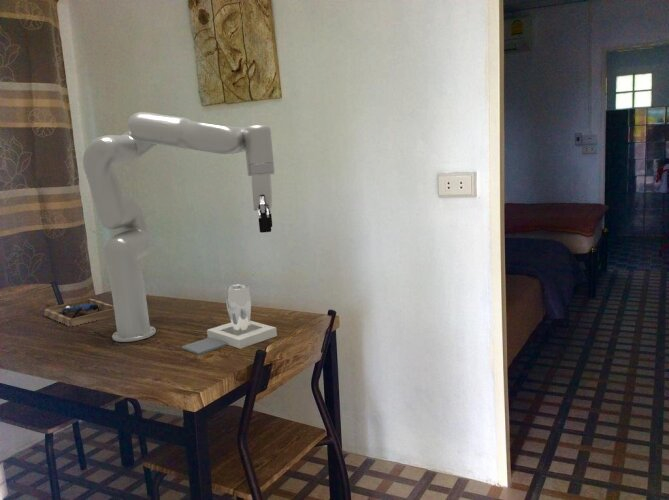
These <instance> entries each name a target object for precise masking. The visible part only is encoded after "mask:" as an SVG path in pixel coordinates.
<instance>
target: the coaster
mask: <svg viewBox="0 0 669 500" xmlns="http://www.w3.org/2000/svg"><path fill="white" fill-rule="evenodd" d="M227 346H228V345H227V343H224V342H221V341H218V340H215V339H212V338H208V337H207V338H204V339H201V340H198V341H195V342H191V343H188V344H185V345H182V346H181V349H182V350H185V351H188V352H191V353H193V354H196V355H199V356H200V355H203V354H206V353H208V352H212V351H215V350H218V349H221V348H224V347H227Z"/></svg>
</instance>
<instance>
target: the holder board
mask: <svg viewBox="0 0 669 500" xmlns="http://www.w3.org/2000/svg"><path fill="white" fill-rule="evenodd" d="M250 327H251V332H248V333H245V334H242V335H239V336H237V335H233V334H232V324H231V322H228V323H225V324H221V325H218V326H215V327H211V328H208V329H206V331H207V332H206V334H207V338H212V339H215V340H218V341H221V342H224V343H227V346H231V347H232V348H233V347H234V348H237V349H240V350H242V349H244V348H247V347H249V346H253V345H255V344H258V343H260V342H263V341H267V340H270V339H272V338H275V337H277V336H278V333H277V327H275V326H271V325H269V324H268V325H267V324H265V323H261V322H257V321H253V320H250Z"/></svg>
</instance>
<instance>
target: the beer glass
mask: <svg viewBox="0 0 669 500" xmlns="http://www.w3.org/2000/svg"><path fill="white" fill-rule="evenodd" d="M250 292H251V291H250V287H249V284H243V283H241V284H239V283H238V284H232V285H228V286H226V287H225V304H226V309H227V313H228V317H229V320H230V323H231V324H232V334H233V335H237V336H239V335H242V334H245V333H248V332H251V327H250V321H251V310H252V300H251V293H250Z"/></svg>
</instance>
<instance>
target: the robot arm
mask: <svg viewBox="0 0 669 500" xmlns="http://www.w3.org/2000/svg"><path fill="white" fill-rule="evenodd" d="M126 129H127V131H125V132H124V133H123V134H117V135H116V134H108V135H107V134H106V135H102V136H98V137H97V138H95V139H94V140H92V141H91V142H90V143H89V144H88V145H87V147H86V148H85V150H84V152H83V156H82V165H83V171H84V174H85V176H86V179H87V182H88V187H89V189H90V190H89V191H90V194H91V198H92V201H93V205H94V208H95V212H96V216H97V220H98V222H99V223H100V225H101V226H102V227H103V228H104V229H107V230H117V232H118V233H116V234H114V235H111V236H110V237H109V238H108V239H106V240H105V242H104V245H103V248H102V256H103V260H104V263H105V266H106V269H107V272H108V273H107V274H108V279H109V284H110V291H111V297H112V305H113V306H114V313H115V316H114V319H115V325H116V326H115V327H116V331H114V333H112V334H111V339H112V340H113V341H115V342H118V343H127V342H128V343H129V342H136V341H142V340H144V339H148V338H150V337H152V336H154V335H155V334H156V327H154V326H151V325H150V324H151V323H150V319H149V317H150V315H149V310H148V303H147V294H146V287H145V286H146V285H145V281H144V276H143V271H142V268H141V266H140V263H139V260H140V259H143V258H144V257H146V256H147V254H149V252H150V250H151V245H152V240H151V235H150V232H149V228H148V225H147V220H146V217H145V214H144V209H143V207H142V205H141V203H140V202H139V201H138V199H136V198H135V197H134V196H132V195H130V194H124V192H123V189H122V185H121V182H120V181H121V180H120V178H119V176H118V175H117V173H116V171H115V170H114V167H115V166H117V165H126V164H131V163H133V162H135V161H137V160H139V159H140V158H141V157H142V156H144V155H145V154H146V153H148V152H149V151H150V150H152V149H154V148H155V146H156V147H157V145H161V146H167V147H173V148H178V149H179V148H180V149H183V150H187V149H188V150H194V151H200V152H205V153H206V152H207V153H214V154H220V155H232V154H233V155H234V154H239V153H243V152H245V158H246V159H245V161H246V170H247V177H251V191H252V192H251V193H252V201H253V202H252V203H253V206H252V207H253V211H255V212H257V211H258V227H259V232H260V233H271V232H272V227H273V219H272V213H271V210H272V206H273V192H272V190H273V189H272V179H271V175H275V166H274V153H273V143H272V142H273V141H272V131H271V127H270V126H269V125H267V124H254V125H247V126H244V127H243V126H242V127H241V126H231V125H218V124H211V123H205V122H198V121H193V120H191V119H189V118H187V117H182V116H176V115H175V116H174V115H166V114H161V113H160V114H159V113H155V112H149V111H138V112H135V113H133V114H132V115H131V116H130V117H129V118H128V120H127V124H126Z"/></svg>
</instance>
